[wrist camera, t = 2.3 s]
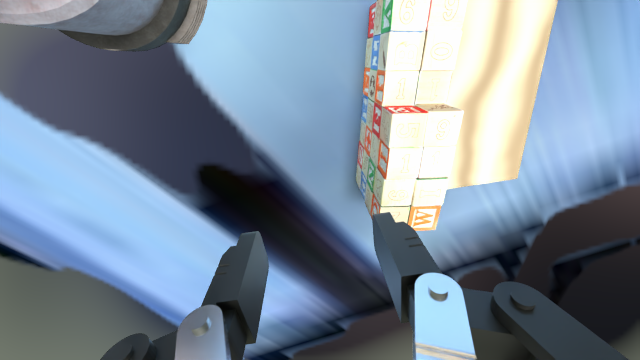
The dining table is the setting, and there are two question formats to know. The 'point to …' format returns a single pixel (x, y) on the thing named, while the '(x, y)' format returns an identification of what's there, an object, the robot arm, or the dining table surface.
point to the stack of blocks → (409, 108)
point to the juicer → (111, 20)
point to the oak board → (497, 86)
